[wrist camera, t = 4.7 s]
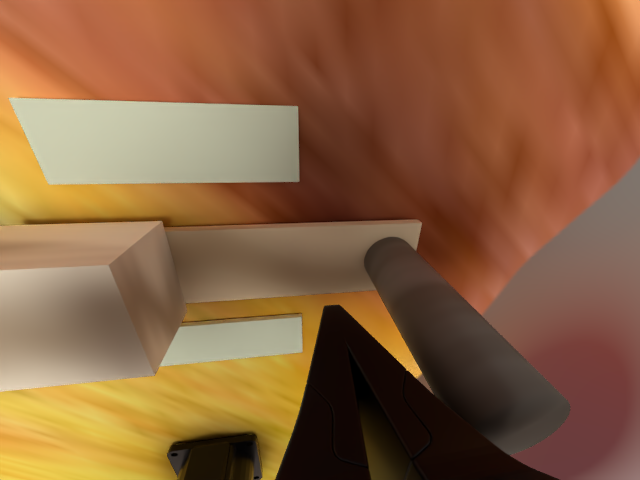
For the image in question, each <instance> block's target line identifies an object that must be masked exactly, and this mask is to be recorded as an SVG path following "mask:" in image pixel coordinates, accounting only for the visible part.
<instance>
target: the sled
mask: <svg viewBox="0 0 640 480" xmlns="http://www.w3.org/2000/svg"><path fill="white" fill-rule="evenodd" d="M421 226H422V222H420V221H419V220H418V219H412V220H381V221H349V222H318V223H286V224H255V225H223V226H192V227H164V226H163V222H162V221H143V222H108V223H73V224H38V225H3V226H0V392H1V391H10V390H20V389H30V388H39V387H49V386H59V385H69V384H78V383H88V382H98V381H107V380H117V379H127V378H137V377H146V376H155V374H156V372H157V370H158V368H159V366H160V364H161V362H162V360H163V358H164V356H165V354H166V352H167V350H168V348H169V346H170V344H171V343H172V341H173V339H174V337H175V335H176V333H177V331H178V329H179V327H180V325H181V323H182V321H183V319H184V317H185V315H186V313H187V308H186V304H185V303H200V302H214V301H228V300H243V299H257V298H272V297H286V296H301V295H315V294H329V293H344V292H358V291H373V290H377V292H378V293H379V295H380V297H381V299H382V301H383V302H384V304H385V306H386V308H387V310H388V312H389V313H390V315H391V317H392V319H393V321H394V322H395V324H396V326H397V328H398V330H399V332H400V333H401V335H402V337H403V339H404V341H405V343H406V344H407V346H408V348H409V350H410V352H411V353H412V355H413V357H414V359H415V361H416V363H417V364H418V366H419V368H420V370H421V372H422V374H423V375H424V377H425V379H426V381H427V383H428V384H429V386H430V388H431V390H432V392H433V393H434V395H435V396H436V397H437V398H438V399H439V400H441V401H442V402H443V403H444V404H445V405H447V406H448V407H449V408H450V409H451V410H453V411H454V412H455V413H456V414H458V415H459V416H460V417H461V418H462V419H464V420H465V421H466V422H467V423H469V424H470V425H471V426H472V427H474V428H475V429H476V430H477V431H478V432H480V433H481V434H482V435H483V436H485V437H486V438H487V439H488V440H490V441H491V442H492V443H493V444H495V445H496V446H497V447H498V448H500V449H501V450H502V451H504V452H505V453H507V454H508V455H511V454H515V453H517V452H520V451H522V450H525V449H527V448H529V447H531V446H533V445H535V444H537V443H539V442H541V441H542V440H544V439H545V438H547V437H548V436H550V435H551V434H552V433H554V432H555V431H556V430H557V429H558V428H559V427H560V426H561V425H562V424H563V423H564V421H565V420H566V419H567V417H568V415H569V412H570V404H569V402H568V401H567V400H566V399H565V398H564V397H563V396H562V395H561V394H560V393H559V392H558V391H557V390H556V389H555V388H554V387H553V386H552V385H551V384H550V383H549V382H548V381H547V380H546V379H545V378H544V377H543V376H542V375H541V374H540V373H539V372H538V371H537V370H536V369H535V368H534V367H533V366H532V365H531V364H530V363H529V362H528V361H527V360H526V359H525V358H524V357H523V356H522V355H521V354H520V353H519V352H518V351H517V350H516V349H515V348H514V347H513V346H511V344H509V342H508V341H507V340H506V339H505V338H503V336H502V335H500V334H499V333H498V332H497V331H496V330H495V329H494V328H493V327H492V326H491V325H490V324H489V323H488V322H487V321H486V320H485V319H484V318H483V317H482V316H481V315H480V314H479V313H478V312H477V311H476V310H475V309H474V308H473V307H472V306H471V305H470V304H469V303H468V302H467V301H466V300H465V299H464V298H463V297H462V296H461V295H460V294H459V293H458V292H457V291H456V290H455V289H454V288H453V287H452V286H451V285H450V284H449V283H448V282H447V281H446V280H445V279H444V278H443V277H442V276H441V275H440V274H439V273H438V272H437V271H436V270H435V269H434V268H433V267H432V266H431V265H429V264H428V263H427V262H426V261H425V260H424V259H423V258H422V257H421V256H420V255H419V254H418V253H417V252H416V249H417V245H418V240H419V235H420V231H421Z"/></svg>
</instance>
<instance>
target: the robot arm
mask: <svg viewBox="0 0 640 480" xmlns="http://www.w3.org/2000/svg"><path fill="white" fill-rule="evenodd" d="M167 456H168V458H169V460H170V462H171V464H172V467H173V469H174V471H175V473H176V475H177V480H260V479H261V478H262V465H261V459H260V453H259V448H258V442H257V437H256V436H255V435H243V436H236V437H229V438H222V439H214V440H207V441H200V442H193V443H185V444H178V445H173V446H171V447H170V448H169V450H168V453H167ZM275 480H559V479H557V478H554V477H552V476H550V475H547V474H545V473H542V472H540V471H537V470H535V469H533V468H530V467H528V466H527V465H525V464H523V463H521V462H519V461H518V460H516V459H514V458H513V457H511V456H510V455H508V454H507V453H505V452H504V451H502V450H501V449H500V448H498V447H497V446H496V445H495V444H493V443H492V442H491V441H490V440H488V439H487V438H486V437H485V436H483V435H482V434H481V433H480V432H478V431H477V430H476V429H475V428H474V427H472V426H471V425H470V424H469V423H467V422H466V421H465V420H464V419H462V418H461V417H460V416H459V415H458V414H456V413H455V412H454V411H453V410H451V409H450V408H449V407H448V406H447V405H445V404H444V403H443V402H442V401H441V400H439V399H438V398H437V397H436V396H435V395H434V394H432V393H431V392H430V391H429V390H428V389H427V388H426V387H425V386H424V385H423V384H421V383H420V382H419V381H418V380H417V379H416V378H415V377H414V376H413V375H412V374H411V373H410V372H409V371H406V368H405V367H403V366H402V365H401V364H400V363H399V362H398V361H397V360H396V359H395V358H394V357H393V356H392V355H391V354H390V353H389V352H388V351H387V350H386V349H385V348H384V347H383V346H382V345H381V344H380V343H379V342H378V341H377V340H376V339H375V338H373V337H372V336H371V335H370V334H369V333H368V332H367V331H366V330H365V329H364V328H363V327H362V326H361V325H360V324H359V323H358V322H357V321H356V320H355V319H354V318H353V317H352V316H351V315H350V314H349V313H348V312H347V311H346V310H345V309H343V308H342V307H341V306H340V305H329V306H324V309H323V313H322V318H321V322H320V326H319V331H318V335H317V339H316V344H315V348H314V353H313V357H312V361H311V366H310V370H309V375H308V379H307V384H306V387H305V391H304V396H303V400H302V403H301V407H300V411H299V414H298V417H297V420H296V423H295V426H294V429H293V432H292V435H291V438H290V441H289V444H288V446H287V449H286V452H285V454H284V457H283V460H282V462H281V465H280V468H279V471H278V473H277V476H276V479H275Z"/></svg>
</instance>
